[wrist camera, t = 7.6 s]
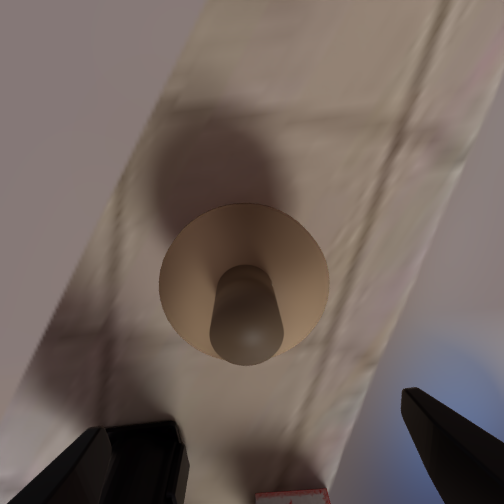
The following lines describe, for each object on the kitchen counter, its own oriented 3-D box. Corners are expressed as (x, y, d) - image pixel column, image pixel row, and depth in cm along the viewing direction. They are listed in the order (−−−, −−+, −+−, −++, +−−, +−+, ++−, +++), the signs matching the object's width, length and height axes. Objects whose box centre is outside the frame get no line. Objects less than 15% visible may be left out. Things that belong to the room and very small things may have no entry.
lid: (179, 358, 18) (158, 432, 13) (147, 213, 15) (105, 240, 10) (326, 341, 18) (357, 408, 13) (321, 193, 15) (358, 211, 11)
